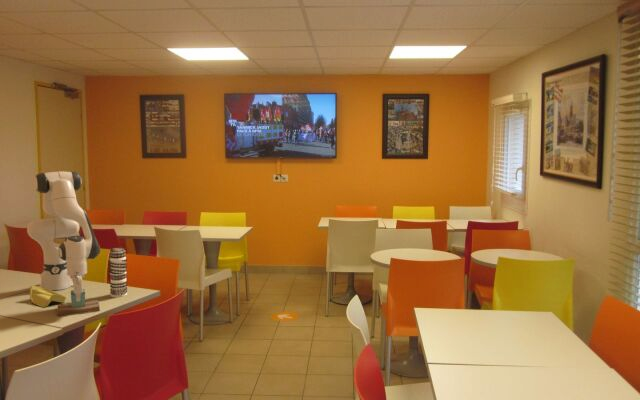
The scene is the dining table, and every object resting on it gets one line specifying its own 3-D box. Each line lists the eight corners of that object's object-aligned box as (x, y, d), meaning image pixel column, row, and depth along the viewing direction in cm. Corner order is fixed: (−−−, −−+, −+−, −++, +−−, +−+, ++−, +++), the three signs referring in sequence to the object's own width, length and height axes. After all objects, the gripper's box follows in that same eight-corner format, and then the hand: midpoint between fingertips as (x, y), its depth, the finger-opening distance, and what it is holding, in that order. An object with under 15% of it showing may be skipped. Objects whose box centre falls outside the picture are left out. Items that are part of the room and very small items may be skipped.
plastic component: (68, 297, 255) (51, 293, 247) (62, 311, 253) (44, 308, 245) (46, 288, 265) (29, 284, 257) (40, 302, 264) (23, 298, 255)
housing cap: (71, 304, 244) (70, 290, 244) (84, 302, 247) (84, 289, 246) (71, 308, 239) (71, 293, 238) (85, 306, 242) (84, 292, 241)
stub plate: (57, 308, 245) (57, 294, 244) (97, 303, 253) (97, 289, 252) (57, 316, 233) (56, 301, 233) (99, 310, 242) (99, 296, 241)
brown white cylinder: (123, 291, 275) (122, 246, 273) (131, 294, 269) (129, 248, 266) (106, 294, 269) (105, 248, 266) (114, 298, 262) (112, 251, 260)
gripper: (85, 274, 234) (86, 303, 235) (83, 265, 252) (84, 292, 253) (69, 275, 231) (71, 305, 232) (69, 266, 249) (70, 293, 250)
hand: (78, 298), depth 243 cm, fingers open, 8 cm apart
